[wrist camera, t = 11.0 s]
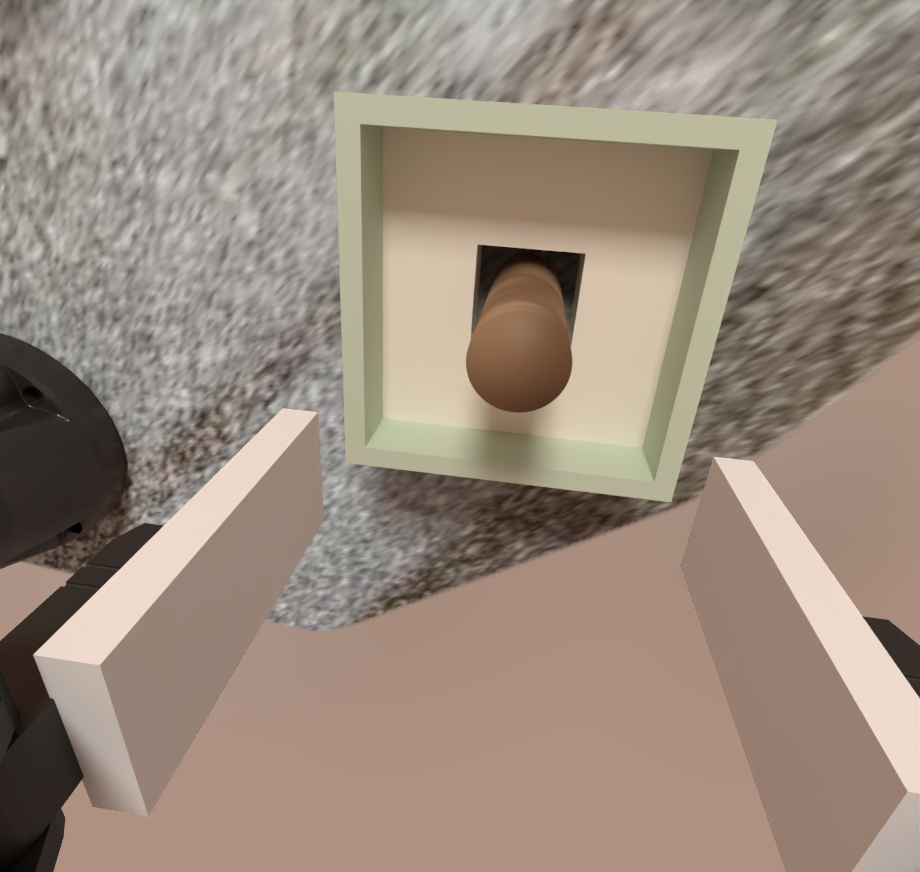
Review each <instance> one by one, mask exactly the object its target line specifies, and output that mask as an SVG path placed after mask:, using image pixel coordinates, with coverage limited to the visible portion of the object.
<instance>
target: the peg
mask: <svg viewBox="0 0 920 872" xmlns="http://www.w3.org/2000/svg"><path fill="white" fill-rule="evenodd" d="M466 369H467V374H468V378H469V380H470V383H471V385H472V386H473V388H474V390H475V391H476V392H477V394H478V395H479V396H480V397H481V398H482V399H483V400H485V401H486V402H487V403H488V404H490V405H492V406H494V407H496V408H498V409H501V410H504V411H508V412H516V413H522V412H530V411H534V410H537V409H540V408H542V407H544V406H546V405H548V404H550V403H551V402H552V401H554V400H555V399H556V398H557V397H558V396H559V395H560V394H561V393H562V391H563V390H564V389H565V387H566V385H567V383H568V381H569V378H570V375H571V371H572V352H571V346H570V340H569V334H568V327H567V321H566V315H565V309H564V302H563V296H562V290H561V284H560V279H559V276H558V274H557V272H556V270H555V269H554V267H553V266H552V265H551V264H550V263H549V262H548V261H546V260H545V259H543V258H541V257H538V256H535V255H520V256H516V257H514V258H512V259H510V260H508V261H507V262H506V263H504V264H503V265H502V266H501V267H500V269H499V270H498V272H497V273H496V275H495V278H494V280H493V283H492V286H491V288H490V291H489V294H488V296H487V299H486V302H485V304H484V307H483V309H482V312H481V315H480V317H479V320H478V323H477V325H476V328H475V331H474V333H473V336H472V339H471V341H470V344H469V347H468V350H467V355H466Z"/></svg>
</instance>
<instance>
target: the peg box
mask: <svg viewBox="0 0 920 872" xmlns="http://www.w3.org/2000/svg"><path fill="white" fill-rule="evenodd" d="M334 119H335V149H336V179H337V209H338V240H339V270H340V300H341V331H342V361H343V391H344V422H345V452H346V463H351V464H359V465H367V466H375V467H384V468H392V469H400V470H409V471H417V472H425V473H433V474H442V475H450V476H458V477H466V478H475V479H483V480H491V481H500V482H508V483H516V484H524V485H533V486H541V487H549V488H557V489H566V490H574V491H582V492H590V493H599V494H607V495H615V496H624V497H632V498H640V499H648V500H657V501H665V502H671V501H672V497H673V493H674V490H675V486H676V483H677V479H678V475H679V472H680V468H681V465H682V461H683V457H684V454H685V450H686V447H687V443H688V440H689V436H690V432H691V429H692V425H693V422H694V418H695V414H696V411H697V407H698V404H699V400H700V396H701V393H702V389H703V386H704V382H705V378H706V375H707V371H708V368H709V364H710V361H711V357H712V353H713V350H714V346H715V343H716V339H717V335H718V332H719V328H720V325H721V321H722V317H723V314H724V310H725V307H726V303H727V299H728V296H729V292H730V289H731V285H732V282H733V278H734V274H735V271H736V267H737V264H738V260H739V256H740V253H741V249H742V246H743V242H744V238H745V235H746V231H747V228H748V224H749V221H750V217H751V213H752V210H753V206H754V203H755V199H756V195H757V192H758V188H759V185H760V181H761V177H762V174H763V170H764V167H765V163H766V159H767V156H768V152H769V149H770V145H771V142H772V138H773V134H774V131H775V127H776V124H777V120H772V119H757V118H741V117H725V116H709V115H694V114H678V113H662V112H646V111H630V110H615V109H599V108H583V107H567V106H551V105H536V104H520V103H504V102H488V101H473V100H457V99H441V98H425V97H409V96H394V95H378V94H362V93H346V92H334ZM483 245H490V246H501V247H513V248H525V249H537V250H548V251H560V252H572V253H580V258H579V265H578V271H577V278H576V284H575V291H574V297H573V304H572V310H571V317H570V323H569V330H568V334H569V340H570V346H571V352H572V371H571V375H570V378H569V381H568V383H567V385H566V387H565V389H564V390H563V391H562V393H561V394H560V395H559V396H558V397H557V398H556V399H555V400H554V401H552V402H551V403H550V404H548V405H546V406H544V407H542V408H540V409H537V410H534V411H530V412H522V413H516V412H508V411H504V410H501V409H498V408H496V407H494V406H492V405H490V404H488V403H487V402H486V401H485V400H483V399H482V398H481V397H480V396H479V395H478V394H477V392H476V391H475V390H474V388H473V386H472V385H471V383H470V380H469V378H468V374H467V369H466V355H467V350H468V347H469V344H470V341H471V339H472V336H473V333H474V331H475V328H476V324H477V311H478V298H479V285H480V272H481V259H482V247H483Z"/></svg>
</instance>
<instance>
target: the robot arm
mask: <svg viewBox="0 0 920 872" xmlns="http://www.w3.org/2000/svg"><path fill="white" fill-rule="evenodd" d="M125 476H126V467H125V458H124V453H123V449H122V445H121V442H120V439H119V437H118V434H117V432H116V429H115V427H114V425H113V423H112V421H111V420H110V418H109V416H108V414H107V413H106V411H105V410H104V408H103V407H102V405H101V404H100V402H99V401H98V400H97V398H96V397H95V396H94V395H93V394H92V392H91V391H90V390H89V389H88V388H87V387H86V386H85V385H84V383H83V382H82V381H81V380H79V379H78V378H77V377H76V376H75V375H74V374H73V373H72V372H71V371H70V370H69V369H67V368H66V367H65V366H64V365H62V364H61V363H60V362H58V361H57V360H55V359H54V358H53V357H51V356H50V355H48V354H46V353H45V352H43V351H41V350H40V349H38V348H36V347H34V346H32V345H30V344H28V343H26V342H24V341H21V340H19V339H16V338H13V337H11V336H7V335H4V334H0V569H1V568H4V567H7V566H9V565H12V564H14V563H17V562H20V561H22V560H25V559H27V558H30V557H32V556H35V555H38V554H40V553H43V552H45V551H48V550H51V549H53V548H56V547H58V546H61V545H64V544H66V543H69V542H71V541H73V540H75V539H77V538H79V537H80V536H82V535H84V534H85V533H87V532H88V531H89V530H90V529H92V528H93V527H94V526H95V525H96V524H98V523H99V522H100V521H101V520H102V519H104V518H105V517H106V516H107V515H108V514H109V513H110V512H111V511H112V510H113V509H114V508H115V506H116V505H117V503H118V502H119V500H120V498H121V495H122V492H123V489H124V485H125ZM323 520H324V512H323V494H322V476H321V459H320V441H319V423H318V412H311V411H302V410H293V409H284V408H283V409H282V410H281V411H280V412H279V413H278V414H277V415H276V416H275V417H274V418H273V419H272V420H271V421H270V422H269V423H268V424H267V425H266V426H265V427H263V428H262V429H261V430H260V431H259V432H258V433H257V434H256V435H255V436H254V437H253V438H252V439H251V440H250V441H249V442H248V443H247V444H246V445H245V446H244V447H243V448H242V449H241V450H240V451H239V452H238V453H237V454H236V455H235V456H234V457H233V458H232V459H231V460H230V461H229V462H228V463H227V464H226V465H225V466H224V467H223V468H222V469H221V470H220V471H219V472H218V473H217V474H216V475H215V476H214V477H213V478H212V479H211V480H210V481H209V482H208V483H207V484H206V485H205V486H204V487H203V488H202V489H201V490H200V491H199V492H198V493H197V494H196V495H195V496H194V497H193V498H192V499H191V500H190V501H188V502H187V503H186V504H185V505H184V506H183V507H182V508H181V509H180V510H179V511H178V512H177V513H176V514H175V515H174V516H173V517H172V518H171V519H170V520H169V521H168V522H167V523H166V524H165V525H164V526H162V525H154V524H147V523H144V524H142V525H140V526H138V527H136V528H134V529H133V530H131V531H129V532H127V533H125V534H123V535H121V536H119V537H117V538H116V539H114V540H112V541H111V542H110V543H109V544H107V545H106V546H105V547H104V548H103V549H102V550H101V551H100V552H99V553H97V554H96V555H95V556H94V557H93V558H92V559H91V560H90V561H89V562H87V566H86V568H85V567H82V568H81V569H80V570H79V571H77V572H76V573H75V574H74V575H73V576H72V577H71V578H70V579H69V580H67V582H66V586H65V587H60V588H59V589H57V590H56V591H55V592H54V593H53V594H52V595H51V596H50V597H49V598H47V599H46V600H45V601H44V602H43V603H42V604H41V605H40V606H39V607H38V608H36V609H35V610H34V611H33V612H32V613H31V614H30V615H29V616H28V617H27V618H25V619H24V620H23V621H22V622H21V623H20V624H19V625H18V626H16V627H15V628H14V629H13V630H12V631H11V632H10V633H9V634H8V635H7V636H5V637H4V638H3V639H2V640H1V641H0V872H53V871H54V867H55V864H56V861H57V857H58V854H59V850H60V847H61V843H62V840H63V837H64V825H65V816H64V814H63V812H62V810H61V807H62V806H63V805H64V803H65V802H66V800H67V799H68V798H69V796H70V795H71V794H72V792H73V791H74V789H75V788H76V787H77V785H78V784H79V783H80V781H81V780H82V781H83V783H84V786H85V788H86V791H87V793H88V796H89V798H90V801H91V804H92V806H93V807H98V808H103V809H109V810H114V811H120V812H126V813H131V814H137V815H143V816H149V815H150V813H151V811H152V810H153V808H154V806H155V804H156V803H157V801H158V799H159V798H160V796H161V794H162V792H163V791H164V789H165V788H166V786H167V784H168V783H169V781H170V779H171V778H172V776H173V774H174V772H175V771H176V769H177V767H178V766H179V764H180V762H181V761H182V759H183V757H184V756H185V754H186V752H187V750H188V749H189V747H190V745H191V744H192V742H193V740H194V739H195V737H196V735H197V733H198V732H199V730H200V728H201V727H202V725H203V723H204V722H205V720H206V718H207V717H208V715H209V713H210V712H211V710H212V708H213V707H214V705H215V703H216V701H217V700H218V698H219V696H220V695H221V693H222V691H223V690H224V688H225V686H226V684H227V683H228V681H229V679H230V678H231V676H232V674H233V673H234V671H235V669H236V667H237V666H238V664H239V663H240V661H241V659H242V657H243V656H244V654H245V652H246V650H247V649H248V647H249V646H250V644H251V642H252V640H253V639H254V637H255V635H256V633H257V632H258V630H259V628H260V627H261V625H262V624H263V622H264V620H265V619H266V617H267V615H268V613H269V612H270V610H271V608H272V607H273V605H274V603H275V602H276V600H277V598H278V597H279V595H280V593H281V591H282V590H283V588H284V586H285V585H286V583H287V581H288V580H289V578H290V576H291V575H292V573H293V571H294V569H295V568H296V566H297V564H298V563H299V561H300V559H301V558H302V556H303V554H304V553H305V551H306V549H307V547H308V546H309V544H310V542H311V541H312V539H313V537H314V536H315V534H316V532H317V531H318V529H319V527H320V525H321V524H322V522H323ZM681 569H682V571H683V574H684V577H685V580H686V583H687V586H688V589H689V592H690V594H691V598H692V601H693V603H694V606H695V609H696V612H697V615H698V618H699V621H700V624H701V627H702V630H703V632H704V635H705V638H706V641H707V644H708V647H709V650H710V653H711V656H712V659H713V661H714V664H715V667H716V670H717V673H718V676H719V679H720V681H721V685H722V687H723V691H724V693H725V696H726V699H727V702H728V705H729V708H730V711H731V714H732V717H733V720H734V722H735V725H736V728H737V731H738V734H739V737H740V740H741V743H742V746H743V749H744V751H745V754H746V757H747V760H748V763H749V766H750V769H751V772H752V775H753V777H754V780H755V783H756V786H757V789H758V792H759V795H760V798H761V801H762V804H763V807H764V810H765V812H766V815H767V818H768V821H769V824H770V826H771V830H772V833H773V836H774V838H775V841H776V844H777V847H778V850H779V853H780V856H781V859H782V862H783V865H784V867H785V870H786V872H920V645H918V644H917V643H916V642H915V641H914V640H912V639H911V638H910V637H909V636H907V635H906V634H905V633H904V632H902V631H901V630H900V629H899V628H898V627H896V626H895V625H894V624H892V623H891V622H890V621H889V620H885V619H877V618H870V617H862V616H861V614H860V613H859V611H858V610H857V608H856V607H855V605H854V604H853V602H852V601H851V600H850V598H849V597H848V595H847V594H846V593H845V591H844V590H843V588H842V587H841V585H840V584H839V583H838V581H837V580H836V578H835V577H834V575H833V574H832V573H831V571H830V570H829V569H828V567H827V565H826V564H825V563H824V561H823V560H822V558H821V557H820V555H819V554H818V553H817V551H816V550H815V548H814V547H813V546H812V544H811V543H810V541H809V540H808V538H807V537H806V535H805V534H804V533H803V531H802V530H801V528H800V527H799V525H798V524H797V523H796V521H795V520H794V518H793V517H792V515H791V514H790V513H789V511H788V510H787V508H786V507H785V505H784V504H783V503H782V501H781V500H780V498H779V497H778V495H777V494H776V493H775V491H774V490H773V488H772V487H771V486H770V484H769V483H768V481H767V480H766V479H765V477H764V476H763V474H762V473H761V471H760V470H759V468H758V467H757V466H756V464H755V463H754V461H746V460H737V459H728V458H720V457H714V458H713V461H712V464H711V468H710V471H709V474H708V477H707V481H706V484H705V487H704V490H703V494H702V497H701V500H700V503H699V507H698V510H697V513H696V517H695V520H694V523H693V526H692V530H691V533H690V536H689V539H688V543H687V546H686V549H685V552H684V556H683V559H682V562H681Z"/></svg>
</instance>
